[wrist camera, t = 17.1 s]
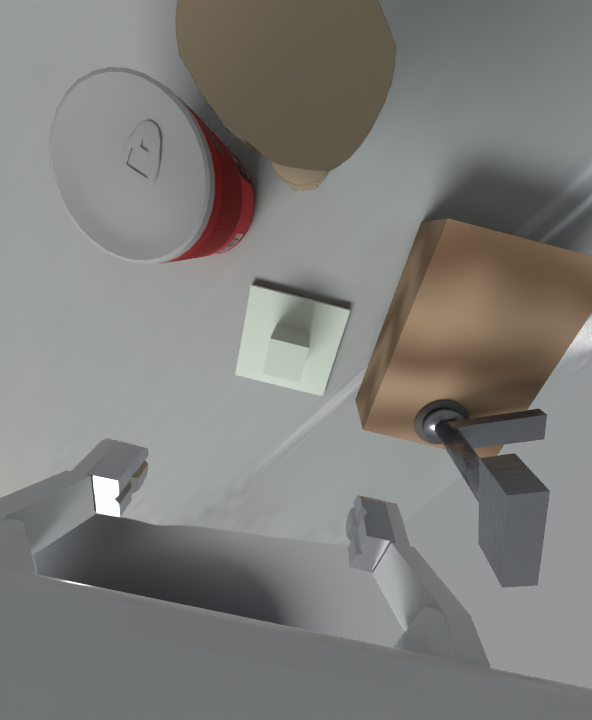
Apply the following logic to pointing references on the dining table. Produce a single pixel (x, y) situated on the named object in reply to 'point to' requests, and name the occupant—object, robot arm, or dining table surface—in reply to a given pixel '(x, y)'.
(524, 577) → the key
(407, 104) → the dining table surface
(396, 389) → the case
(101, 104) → the canned food
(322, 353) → the lid
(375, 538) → the robot arm
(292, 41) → the handle
